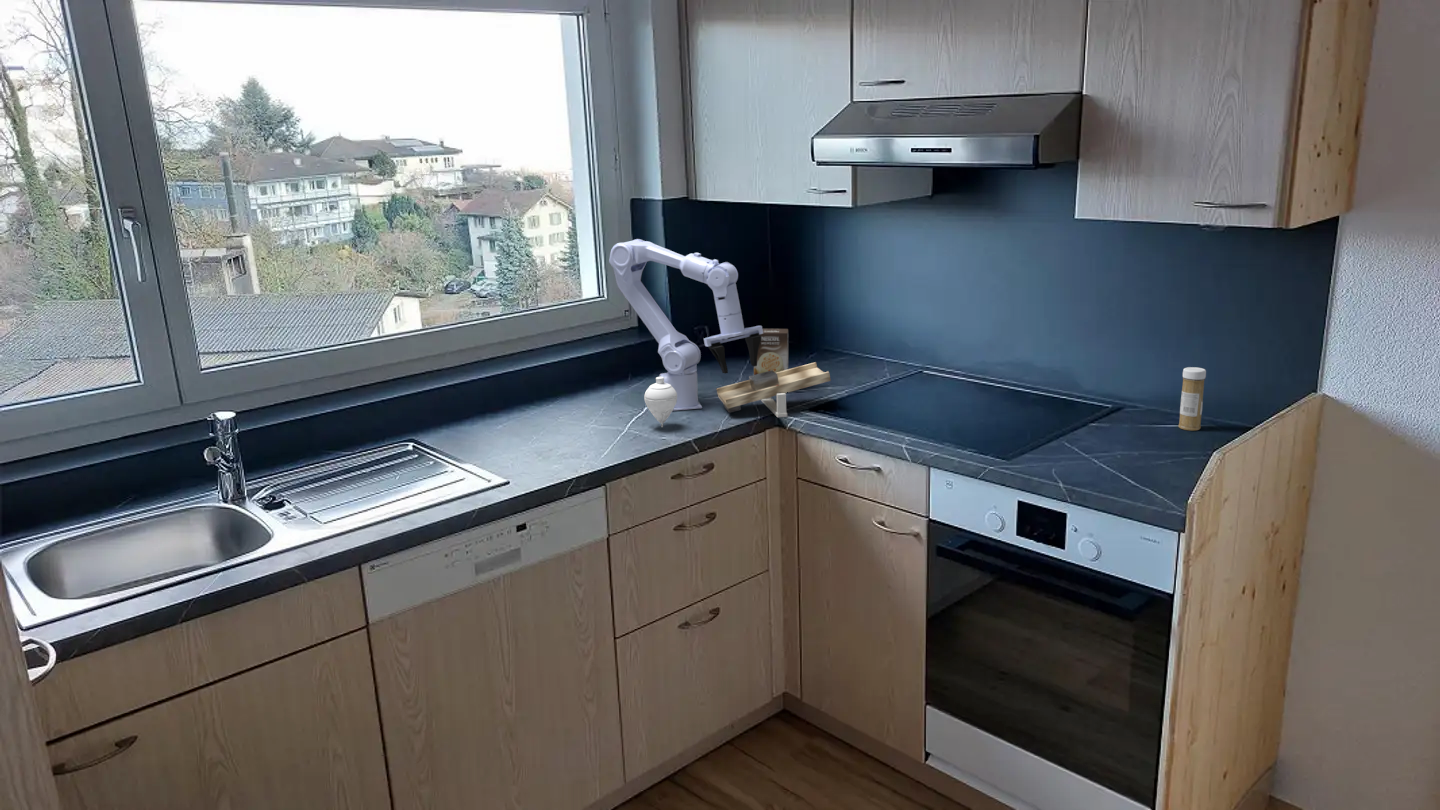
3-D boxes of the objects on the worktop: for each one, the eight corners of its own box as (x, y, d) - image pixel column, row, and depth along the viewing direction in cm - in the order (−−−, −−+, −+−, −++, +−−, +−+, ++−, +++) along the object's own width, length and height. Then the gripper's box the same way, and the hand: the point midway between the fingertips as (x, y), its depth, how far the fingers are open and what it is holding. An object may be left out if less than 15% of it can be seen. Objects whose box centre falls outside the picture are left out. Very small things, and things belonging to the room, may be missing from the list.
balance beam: (730, 416, 241) (726, 400, 239) (719, 403, 253) (715, 387, 251) (832, 388, 244) (829, 372, 243) (817, 377, 256) (814, 361, 255)
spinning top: (684, 425, 237) (682, 375, 234) (666, 433, 231) (664, 382, 228) (657, 421, 241) (655, 372, 238) (639, 429, 235) (636, 379, 232)
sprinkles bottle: (1204, 428, 222) (1210, 369, 219) (1192, 432, 220) (1198, 372, 216) (1185, 424, 226) (1191, 365, 223) (1173, 427, 224) (1178, 368, 220)
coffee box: (753, 393, 264) (751, 332, 260) (754, 387, 270) (753, 328, 266) (788, 393, 263) (787, 332, 259) (789, 387, 270) (788, 327, 265)
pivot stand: (777, 417, 241) (777, 395, 240) (761, 401, 256) (761, 379, 255) (787, 416, 242) (787, 394, 240) (770, 400, 257) (770, 379, 255)
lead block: (756, 392, 244) (753, 380, 244) (751, 387, 249) (748, 376, 248) (779, 386, 245) (777, 374, 244) (774, 381, 250) (772, 370, 249)
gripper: (706, 321, 236) (717, 377, 239) (763, 308, 241) (773, 363, 243) (697, 320, 243) (708, 374, 245) (752, 307, 247) (762, 361, 250)
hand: (739, 369), depth 245 cm, fingers open, 7 cm apart
